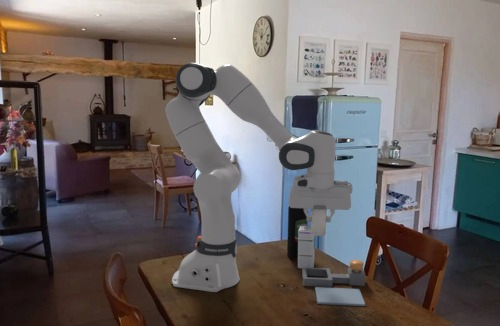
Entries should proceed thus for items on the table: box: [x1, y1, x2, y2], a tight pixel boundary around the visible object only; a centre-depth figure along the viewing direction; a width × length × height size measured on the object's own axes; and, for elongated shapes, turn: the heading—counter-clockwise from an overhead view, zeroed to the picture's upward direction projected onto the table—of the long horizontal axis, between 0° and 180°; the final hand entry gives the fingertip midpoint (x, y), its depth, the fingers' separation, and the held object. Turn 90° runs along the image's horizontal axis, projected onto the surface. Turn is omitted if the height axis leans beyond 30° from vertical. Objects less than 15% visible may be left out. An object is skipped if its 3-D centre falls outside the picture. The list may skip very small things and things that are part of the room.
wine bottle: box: [286, 205, 309, 260], centre depth 161 cm, size 8×8×30 cm
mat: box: [314, 286, 366, 307], centre depth 129 cm, size 14×10×1 cm
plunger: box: [349, 259, 364, 272], centre depth 139 cm, size 4×4×6 cm
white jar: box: [310, 205, 328, 237], centre depth 138 cm, size 5×5×10 cm
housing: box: [301, 267, 366, 288], centre depth 140 cm, size 20×9×4 cm, turn 85°
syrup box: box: [297, 225, 316, 270], centre depth 152 cm, size 6×6×14 cm
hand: (318, 221), depth 138 cm, fingers closed on white jar, 5 cm apart
